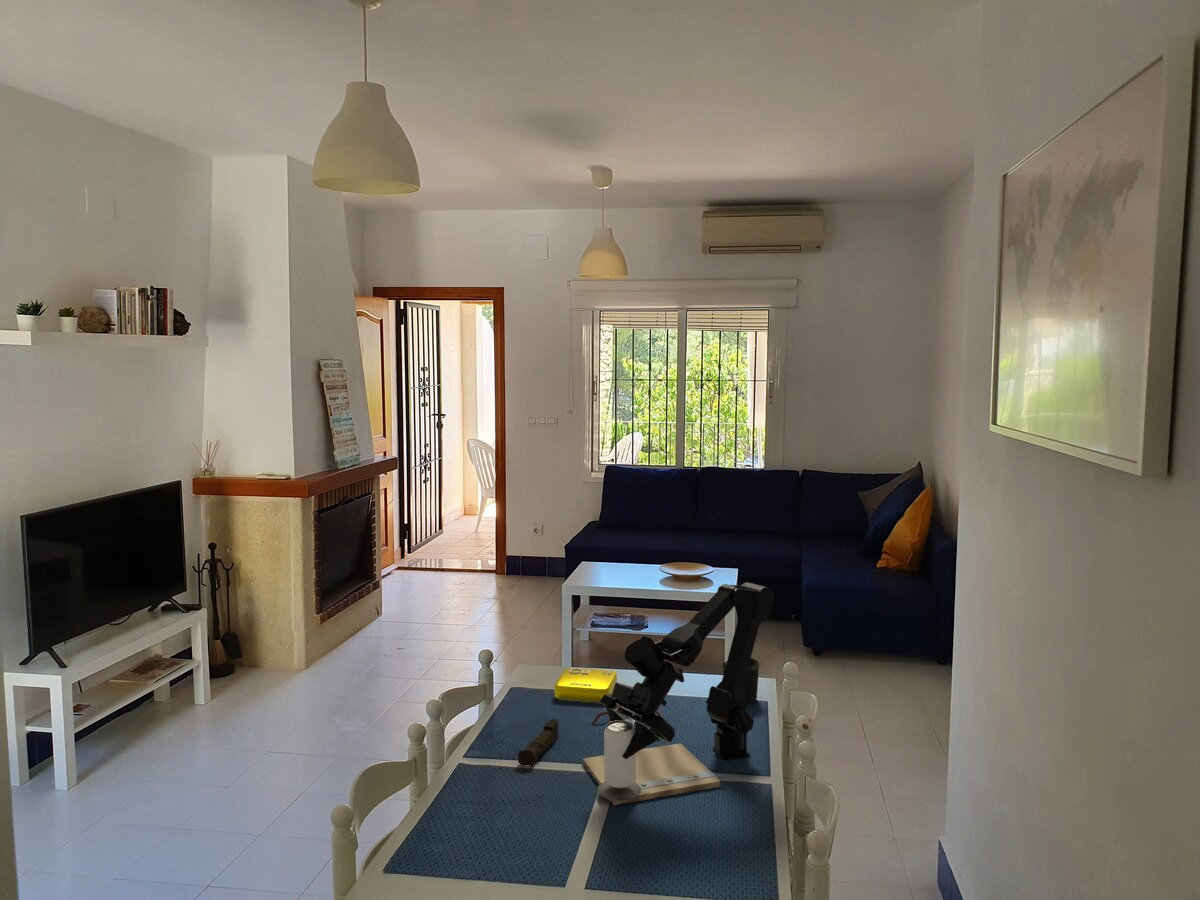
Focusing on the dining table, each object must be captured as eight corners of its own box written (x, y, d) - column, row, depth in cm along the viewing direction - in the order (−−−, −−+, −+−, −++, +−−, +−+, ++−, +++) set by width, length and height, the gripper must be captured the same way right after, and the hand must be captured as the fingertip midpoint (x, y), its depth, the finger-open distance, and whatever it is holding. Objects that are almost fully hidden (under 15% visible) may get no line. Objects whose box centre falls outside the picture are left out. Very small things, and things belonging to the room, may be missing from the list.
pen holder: (718, 692, 240) (719, 657, 239) (752, 691, 241) (753, 655, 240) (727, 706, 231) (728, 668, 230) (762, 704, 232) (763, 667, 231)
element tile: (552, 701, 236) (552, 683, 235) (565, 681, 250) (565, 665, 250) (608, 705, 233) (608, 687, 232) (618, 685, 247) (618, 668, 247)
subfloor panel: (680, 748, 205) (680, 742, 205) (722, 788, 186) (722, 782, 185) (574, 765, 197) (574, 759, 197) (605, 809, 177) (605, 802, 177)
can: (618, 792, 178) (618, 735, 177) (598, 781, 183) (597, 725, 182) (642, 782, 182) (642, 726, 181) (621, 771, 187) (621, 716, 186)
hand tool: (533, 769, 195) (533, 749, 195) (517, 766, 197) (517, 746, 196) (568, 736, 213) (568, 717, 213) (552, 733, 214) (552, 715, 214)
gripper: (606, 656, 190) (565, 719, 184) (664, 680, 175) (621, 749, 170) (634, 683, 196) (595, 744, 190) (693, 708, 181) (652, 776, 175)
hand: (614, 752), depth 181 cm, fingers closed on can, 6 cm apart
